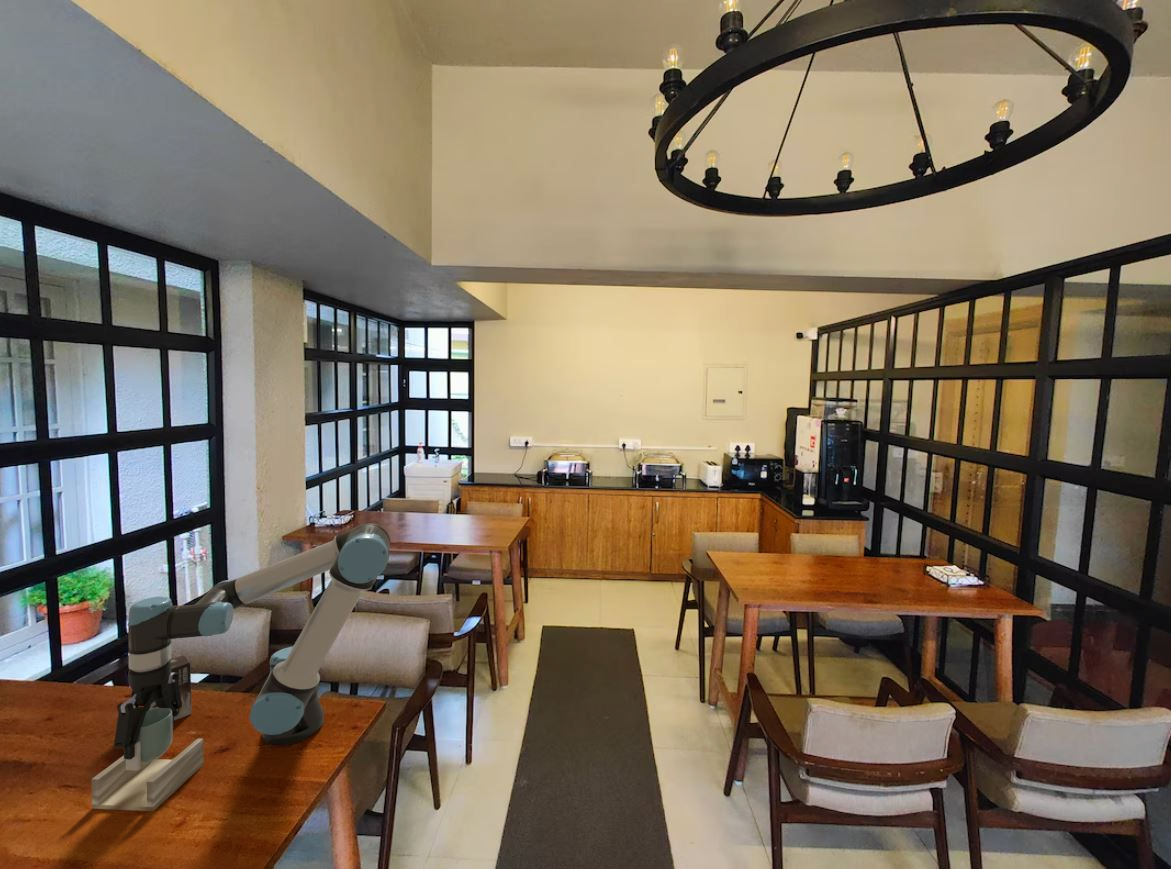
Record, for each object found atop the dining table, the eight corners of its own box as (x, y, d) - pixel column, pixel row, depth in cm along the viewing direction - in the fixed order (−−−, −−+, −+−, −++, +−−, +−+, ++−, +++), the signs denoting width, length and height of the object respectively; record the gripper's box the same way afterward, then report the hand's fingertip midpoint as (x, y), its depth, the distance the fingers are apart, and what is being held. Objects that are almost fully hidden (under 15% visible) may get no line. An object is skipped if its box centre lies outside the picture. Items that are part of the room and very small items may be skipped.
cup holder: (203, 764, 121) (203, 738, 121) (153, 811, 107) (153, 781, 107) (149, 762, 121) (148, 736, 121) (92, 808, 107) (91, 779, 107)
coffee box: (185, 705, 144) (185, 654, 143) (192, 714, 140) (191, 661, 139) (145, 720, 136) (144, 666, 135) (151, 730, 133) (150, 675, 132)
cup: (145, 771, 109) (145, 730, 109) (119, 765, 111) (118, 724, 110) (180, 748, 117) (180, 709, 116) (155, 742, 118) (155, 704, 118)
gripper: (172, 642, 123) (172, 726, 124) (88, 688, 102) (89, 789, 103) (201, 643, 123) (200, 727, 124) (123, 690, 102) (123, 791, 103)
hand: (150, 755), depth 114 cm, fingers closed on cup, 8 cm apart
